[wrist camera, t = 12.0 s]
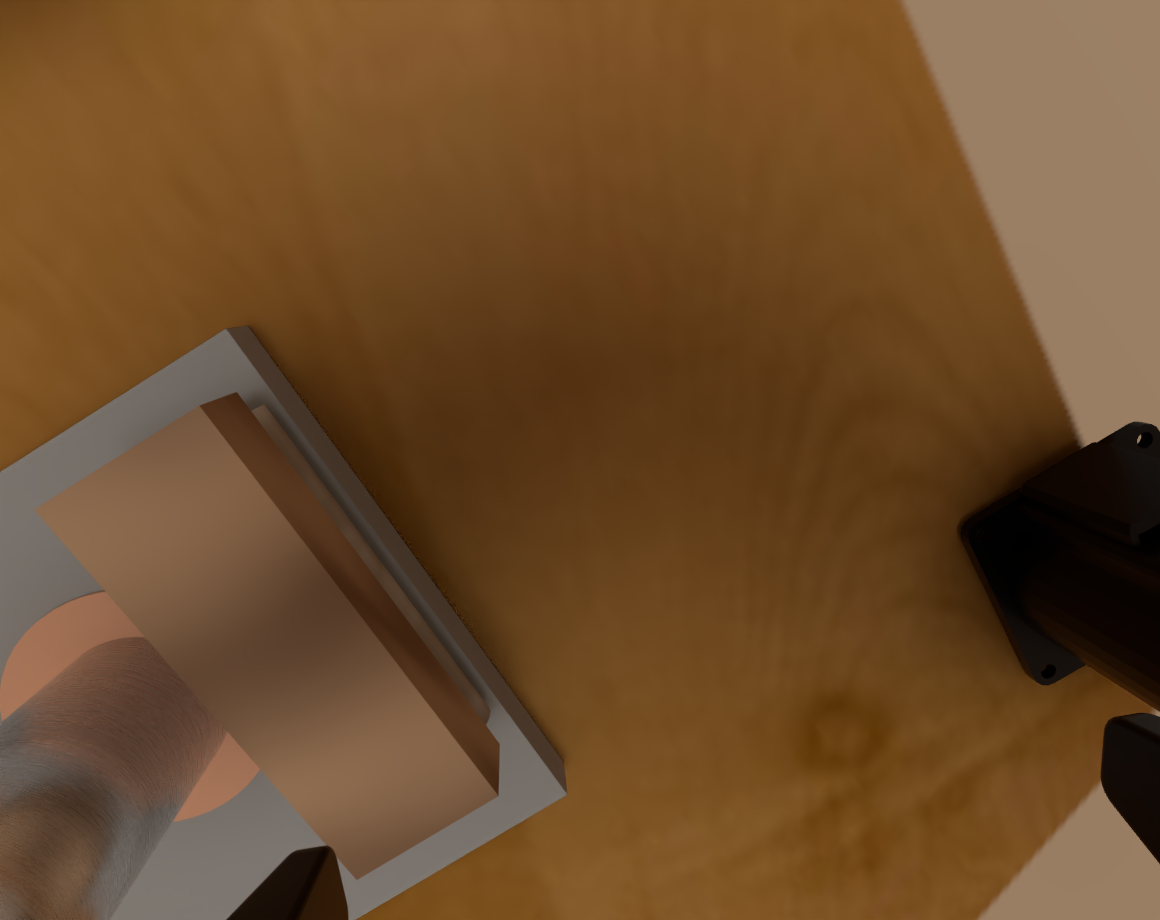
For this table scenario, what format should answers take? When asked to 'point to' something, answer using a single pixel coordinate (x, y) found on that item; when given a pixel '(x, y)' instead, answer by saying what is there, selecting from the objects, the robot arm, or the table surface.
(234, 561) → the wooden toy car
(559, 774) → the slate board
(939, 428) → the table surface
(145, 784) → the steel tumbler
